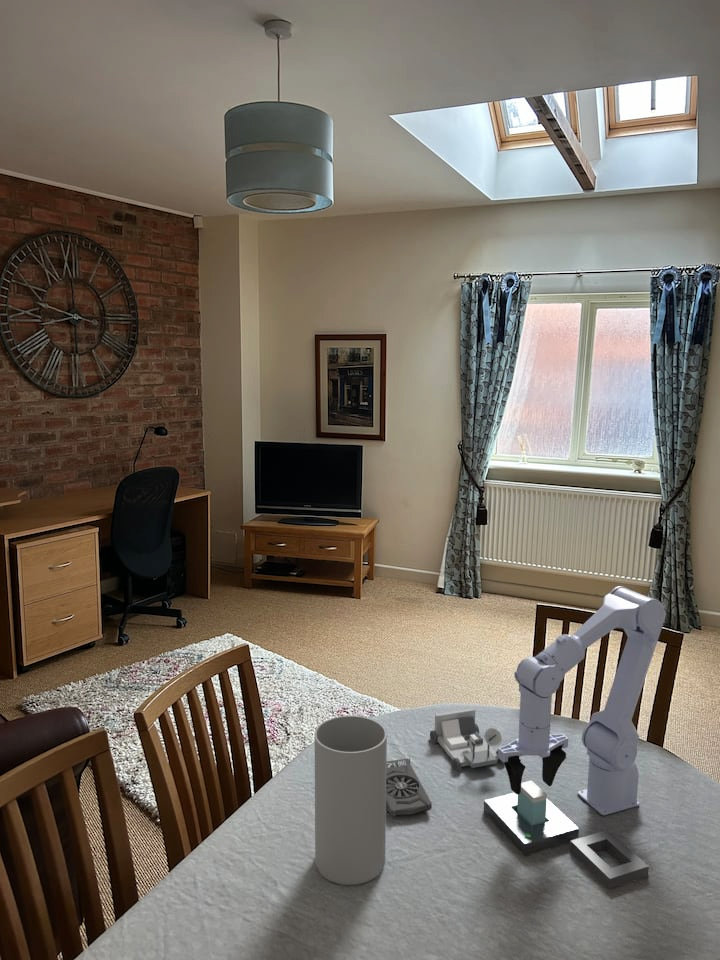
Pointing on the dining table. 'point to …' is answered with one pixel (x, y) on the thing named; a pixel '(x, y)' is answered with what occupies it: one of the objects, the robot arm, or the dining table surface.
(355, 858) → the cylinder vase
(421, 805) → the graphics card
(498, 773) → the dining table surface
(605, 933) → the dining table surface
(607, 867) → the holster
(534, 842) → the port panel
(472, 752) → the toy car
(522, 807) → the plug
